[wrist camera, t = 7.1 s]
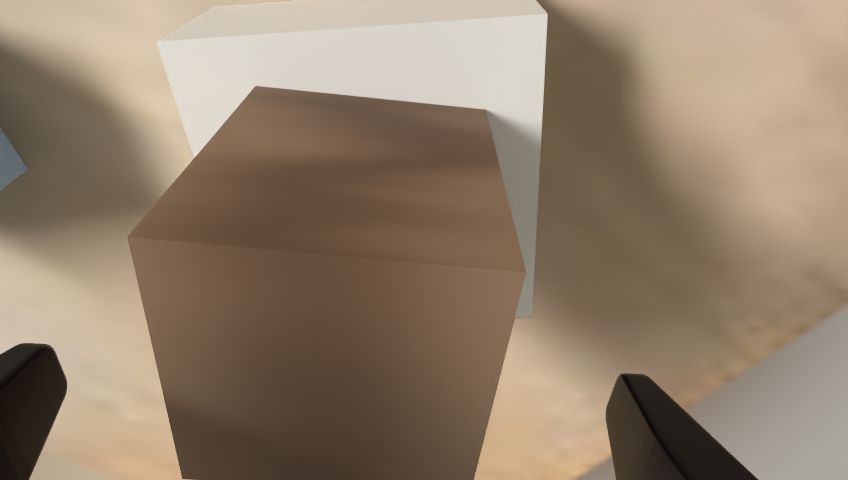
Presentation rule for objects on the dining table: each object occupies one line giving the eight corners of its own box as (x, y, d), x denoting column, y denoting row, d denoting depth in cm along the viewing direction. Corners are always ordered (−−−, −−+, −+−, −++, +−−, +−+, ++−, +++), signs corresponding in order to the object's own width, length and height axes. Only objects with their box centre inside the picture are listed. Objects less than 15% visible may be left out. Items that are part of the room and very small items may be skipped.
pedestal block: (519, -19, 14) (547, 13, 11) (513, 238, 19) (532, 317, 15) (217, 4, 15) (156, 41, 11) (281, 250, 19) (250, 330, 16)
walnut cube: (486, 109, 12) (526, 272, 7) (455, 288, 15) (469, 498, 10) (255, 85, 12) (127, 237, 7) (267, 272, 15) (182, 478, 10)
